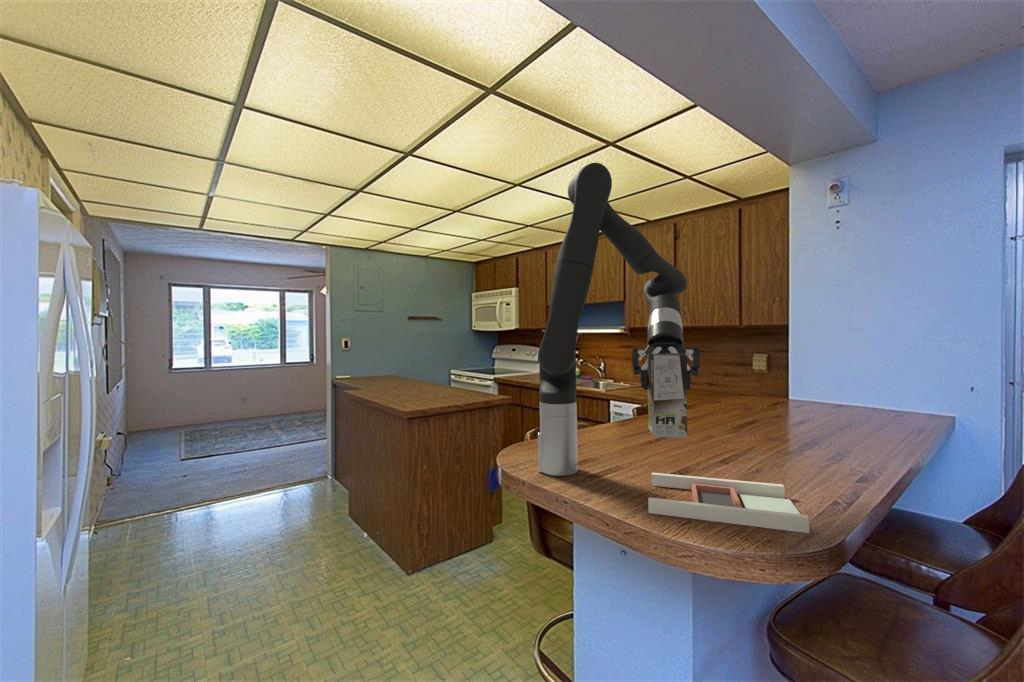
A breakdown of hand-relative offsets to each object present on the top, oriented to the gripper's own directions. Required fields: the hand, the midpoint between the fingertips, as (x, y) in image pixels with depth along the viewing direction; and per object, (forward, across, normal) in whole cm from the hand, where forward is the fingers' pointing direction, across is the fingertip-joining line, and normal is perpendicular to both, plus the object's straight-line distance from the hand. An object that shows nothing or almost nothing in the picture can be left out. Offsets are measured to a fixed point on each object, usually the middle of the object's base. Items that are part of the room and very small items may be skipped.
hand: (665, 388), depth 83 cm
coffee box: (+7, 0, +6) cm, 9 cm away
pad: (+16, +18, +15) cm, 29 cm away
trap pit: (+16, +9, +15) cm, 24 cm away
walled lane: (+16, +9, +15) cm, 24 cm away
